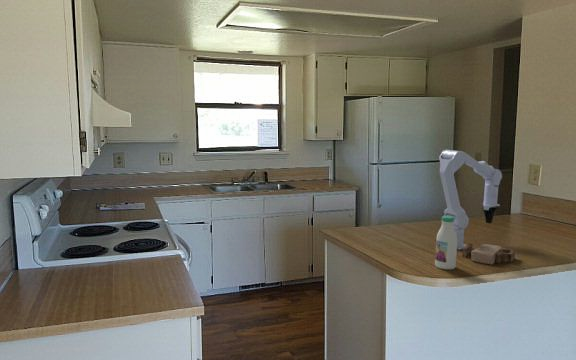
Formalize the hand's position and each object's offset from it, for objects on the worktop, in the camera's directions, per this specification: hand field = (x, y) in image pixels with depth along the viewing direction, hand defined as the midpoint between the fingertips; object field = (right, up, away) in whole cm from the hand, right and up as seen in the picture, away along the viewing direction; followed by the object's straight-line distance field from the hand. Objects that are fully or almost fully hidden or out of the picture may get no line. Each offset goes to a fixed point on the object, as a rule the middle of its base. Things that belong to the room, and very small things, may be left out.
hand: (488, 222), depth 208 cm
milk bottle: (-32, -14, -34) cm, 49 cm away
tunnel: (-10, -12, -22) cm, 27 cm away
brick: (-11, -13, -23) cm, 29 cm away
